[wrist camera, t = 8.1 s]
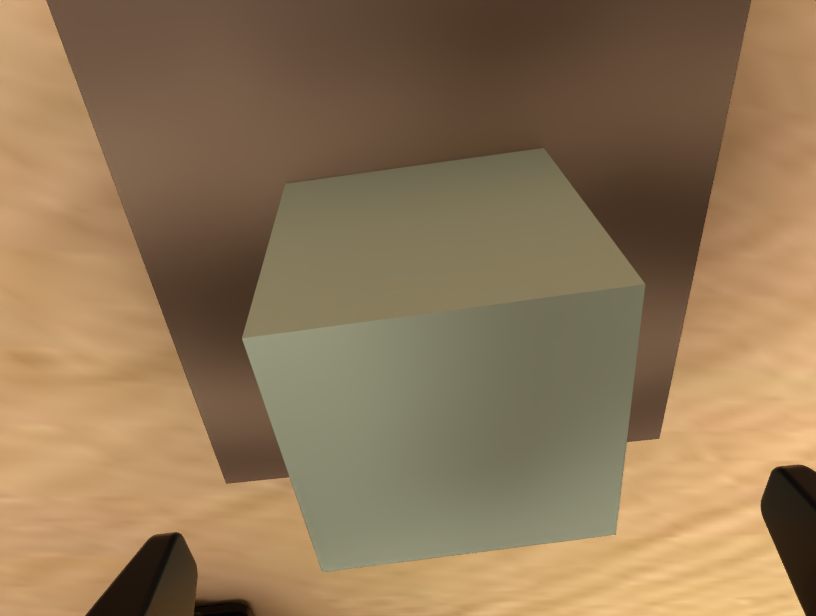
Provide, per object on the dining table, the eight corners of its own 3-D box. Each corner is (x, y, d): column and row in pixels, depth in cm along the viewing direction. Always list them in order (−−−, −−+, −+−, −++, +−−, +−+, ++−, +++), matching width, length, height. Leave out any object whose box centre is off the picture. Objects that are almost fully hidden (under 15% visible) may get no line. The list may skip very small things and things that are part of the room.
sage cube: (542, 352, 17) (615, 534, 12) (333, 379, 17) (322, 572, 12) (543, 147, 14) (645, 284, 9) (285, 183, 14) (242, 337, 9)
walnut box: (615, 361, 23) (659, 438, 19) (246, 399, 23) (225, 483, 19) (677, -78, 15) (766, -74, 12) (116, -22, 15) (45, -3, 12)
